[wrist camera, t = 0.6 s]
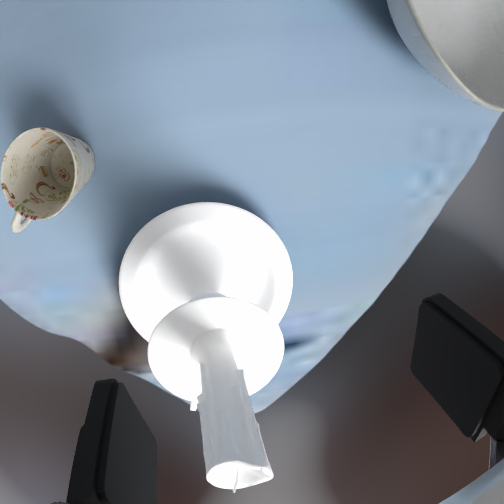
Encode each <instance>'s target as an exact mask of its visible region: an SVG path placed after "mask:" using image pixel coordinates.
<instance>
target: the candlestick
mask: <svg viewBox="0 0 504 504" xmlns="http://www.w3.org/2000/svg"><path fill="white" fill-rule="evenodd" d="M292 286H293V273H292V266H291V261H290V258H289V255H288V252H287V250H286V248H285V246H284V244H283V242H282V241H281V239H280V238H279V236H278V235H277V234H276V232H275V231H274V230H273V229H272V228H271V227H270V226H269V225H268V224H267V223H266V222H264V221H263V220H262V219H260V218H259V217H257V216H256V215H254V214H252V213H251V212H249V211H247V210H244V209H242V208H239V207H236V206H233V205H229V204H224V203H217V202H197V203H190V204H185V205H181V206H178V207H175V208H172V209H170V210H168V211H166V212H164V213H162V214H160V215H158V216H157V217H155V218H154V219H152V220H151V221H150V222H148V223H147V224H146V225H145V226H144V227H143V228H142V229H141V230H140V231H139V232H138V233H137V234H136V235H135V237H134V238H133V239H132V241H131V242H130V244H129V246H128V248H127V250H126V252H125V254H124V256H123V259H122V262H121V266H120V272H119V294H120V299H121V303H122V306H123V309H124V311H125V314H126V316H127V318H128V319H129V321H130V323H131V324H132V326H133V327H134V328H135V329H136V331H137V332H138V333H139V334H140V335H141V336H142V337H143V338H144V339H145V340H146V341H148V342H149V344H148V361H149V365H150V368H151V370H152V372H153V374H154V376H155V377H156V379H157V380H158V381H159V382H160V384H161V385H162V386H163V387H165V388H166V389H167V390H168V391H170V392H171V393H173V394H174V395H176V396H178V397H180V398H183V399H185V400H188V401H191V403H190V410H193V411H194V410H195V411H196V408H197V405H198V409H199V411H200V420H201V429H202V438H203V451H204V458H205V464H206V478H207V481H208V482H209V483H211V484H212V485H214V486H216V487H220V488H225V489H234V490H233V492H234V493H235V490H236V489H239V488H245V487H249V486H253V485H256V484H259V483H262V482H265V481H268V480H270V479H272V478H273V472H272V469H271V466H270V464H269V462H268V459H267V455H266V452H265V448H264V445H263V441H262V438H261V434H260V430H259V424H258V423H257V422H256V419H255V416H254V412H253V408H252V405H251V401H250V397H249V396H250V395H252V394H253V393H255V392H257V391H258V390H260V389H261V388H262V387H264V386H265V385H266V384H267V383H268V382H269V381H270V380H271V379H272V378H273V376H274V375H275V374H276V372H277V370H278V369H279V367H280V364H281V362H282V359H283V354H284V339H283V335H282V332H281V330H280V328H279V326H278V323H279V322H280V320H281V319H282V317H283V315H284V313H285V311H286V309H287V307H288V304H289V301H290V298H291V293H292ZM197 403H199V404H197Z"/></svg>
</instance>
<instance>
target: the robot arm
mask: <svg viewBox="0 0 504 504" xmlns="http://www.w3.org/2000/svg"><path fill="white" fill-rule="evenodd" d="M411 371H412V373H413V374H414V376H415V377H416V378H417V379H418V380H419V382H420V383H421V384H422V385H423V386H424V387H425V388H426V390H427V391H428V392H429V393H430V394H431V395H432V397H433V398H434V399H435V400H436V401H437V403H438V404H439V405H440V406H441V407H442V409H443V410H444V411H445V412H446V413H447V415H448V416H449V417H450V418H451V419H452V420H453V422H454V423H455V424H456V425H457V426H458V428H459V429H460V430H461V431H462V433H463V434H464V435H465V436H466V437H471V439H472V440H473V441H474V442H476V441H477V440H479V439H480V438H482V437H483V436H485V435H486V433H487V432H488V433H489V434H490V436H491V447H490V462H489V470H488V471H487V472H486V473H484V474H483V475H482V476H480V477H479V478H477V479H476V480H474V481H473V482H472V483H470V484H469V485H467V486H466V487H464V488H463V489H462V490H460V491H458V492H457V493H455V494H454V495H452V496H450V497H449V498H447V499H446V500H444V501H442V502H441V503H439V504H504V342H503V341H502V340H501V339H500V338H499V337H498V336H496V335H495V334H494V333H492V332H491V331H490V330H489V329H487V328H486V327H485V326H483V325H482V324H481V323H480V322H478V321H477V320H476V319H475V318H473V317H472V316H470V315H469V314H468V313H467V312H465V311H464V310H463V309H461V308H460V307H459V306H457V305H456V304H455V303H453V302H452V301H450V300H449V299H448V298H447V297H445V296H444V295H442V294H440V293H437V294H434V295H431V296H429V297H426V298H425V299H423V301H422V304H421V305H420V307H419V314H418V322H417V329H416V336H415V342H414V348H413V354H412V360H411ZM51 504H157V445H156V440H155V437H154V435H153V434H152V432H151V430H150V429H149V428H148V426H147V424H146V422H145V421H144V419H143V417H142V416H141V414H140V412H139V411H138V409H137V407H136V406H135V404H134V402H133V400H132V399H131V397H130V395H129V393H128V391H127V390H126V388H125V386H124V384H123V383H121V382H120V383H118V382H117V381H116V379H106V380H99V381H96V382H95V384H94V388H93V392H92V396H91V400H90V404H89V408H88V412H87V416H86V420H85V424H84V425H83V427H82V428H81V430H80V433H79V437H78V442H77V447H76V451H75V456H74V461H73V466H72V471H71V477H70V483H69V489H68V495H67V501H66V502H61V501H60V502H53V503H51Z"/></svg>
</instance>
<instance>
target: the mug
mask: <svg viewBox="0 0 504 504" xmlns="http://www.w3.org/2000/svg"><path fill="white" fill-rule="evenodd" d="M94 167H95V158H94V154H93V152H92V149H91V148H90V147H89V145H88V144H87V143H85V142H84V141H82V140H80V139H78V138H75V137H73V136H70V135H67V134H65V133H62V132H59V131H57V130H54V129H51V128H45V127H37V128H32V129H29V130H27V131H25V132H23V133H21V134H20V135H19V136H17V137H16V138H15V139H14V140H13V142H12V143H11V144H10V146H9V147H8V149H7V151H6V153H5V155H4V158H3V161H2V166H1V184H2V189H3V192H4V195H5V197H6V199H7V201H8V203H9V204H10V206H11V207H12V208H13V209H14V210H15V211H16V213H15V216H14V218H13V220H12V230H13V232H15V233H18V232H20V231H22V230H23V229H24V228H25V227H26V226H27V225H28V224H29V223H30V222H31V221H32V220H44V219H48V218H51V217H53V216H55V215H56V214H58V213H59V212H61V211H62V210H63V209H64V208H65V207H66V206H67V205H68V204H69V203H70V201H71V200H72V199H73V198H74V197H75V196H76V195H77V193H78V192H79V191H80V190H81V189H82V188H83V187H84V186H85V185H86V184H87V182H88V181H89V180H90V178H91V176H92V174H93V172H94ZM22 216H23V217H25V219H24V220H23V221H22V222H20V220H21V218H22Z"/></svg>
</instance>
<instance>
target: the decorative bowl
mask: <svg viewBox="0 0 504 504" xmlns="http://www.w3.org/2000/svg"><path fill="white" fill-rule="evenodd" d="M387 4H388V8H389V11H390V14H391V17H392V20H393V23H394V25H395V27H396V29H397V31H398V33H399V35H400V37H401V39H402V40H403V42H404V43H405V45H406V46H407V48H408V49H409V51H410V52H411V53H412V55H413V56H414V57H415V58H416V60H417V61H418V62H419V63H420V64H421V65H422V66H423V67H424V68H425V69H426V70H427V71H428V72H429V73H430V74H431V75H432V76H433V77H434V78H436V79H437V80H438V81H439V82H441V83H442V84H443V85H445V86H446V87H447V88H449V89H450V90H452V91H453V92H455V93H457V94H458V95H460V96H462V97H464V98H465V99H467V100H469V101H471V102H474V103H476V104H478V105H480V106H483V107H486V108H489V109H492V110H496V111H504V0H387Z"/></svg>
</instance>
